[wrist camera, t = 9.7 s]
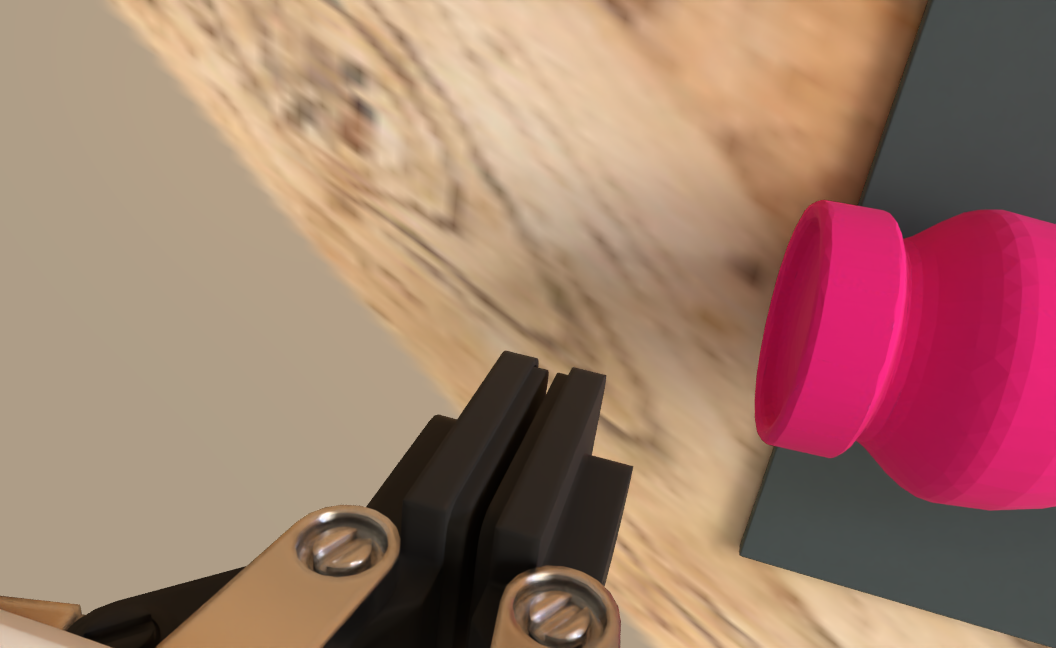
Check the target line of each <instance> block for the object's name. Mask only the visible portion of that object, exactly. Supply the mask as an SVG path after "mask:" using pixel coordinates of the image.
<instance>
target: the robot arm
mask: <svg viewBox="0 0 1056 648" xmlns="http://www.w3.org/2000/svg"><path fill="white" fill-rule="evenodd" d="M548 375H549V372H548V370H545V369H541V368H538V358H534V357H530V356H525V355H521V354H517V353H513V352H509V351H504V352H503V353H502V354H501V356H500V357H499V359H498V360H497V362H496V363H495V365H494V366H493V368H492V369H491V370H490V372H489V373H488V375H487V376H486V378H485V379H484V381H483V382H482V384H481V385H480V387H479V388H478V390H477V391H476V393H475V394H474V396H473V397H472V399H471V400H470V401H469V403H468V404H467V406H466V407H465V409H464V410H463V412H462V413H461V415H460V416H459V418H458V419H453V418H449V417H446V416H442V415H435V416H434V417H433V418H432V419H431V420H430V421H429V422H428V424H427V425H426V426H425V428H424V429H423V430H422V432H421V433H420V435H419V436H418V437H417V439H416V440H415V441H414V443H413V444H412V445H411V447H410V448H409V450H408V451H407V452H406V454H405V455H404V456H403V458H402V459H401V460H400V462H399V463H398V464H397V466H396V467H395V468H394V470H393V471H392V473H391V474H390V476H389V477H388V478H387V479H386V481H385V482H384V483H383V485H382V486H381V487H380V489H379V490H378V492H377V493H376V494H375V496H374V497H373V498H372V500H371V501H370V502H369V504H368V505H367V507H363V506H356V505H338V506H331V507H325V508H322V509H320V510H317V511H314V512H311V513H309V514H308V515H306V516H305V517H303V518H302V519H300V520H299V521H297V522H296V523H295V524H294V525H292V526H291V527H290V528H289V529H288V530H287V531H286V532H285V533H283V534H282V535H281V536H280V537H279V538H278V539H277V540H276V541H274V542H273V543H272V544H271V545H270V546H269V547H268V548H267V549H266V550H264V551H263V552H262V553H261V554H260V555H259V556H258V557H256V558H255V559H254V560H253V561H252V562H251V563H250V564H249V565H247V566H245V567H241V568H238V569H234V570H230V571H227V572H223V573H219V574H215V575H212V576H209V577H204V578H201V579H197V580H193V581H190V582H186V583H182V584H178V585H175V586H171V587H167V588H164V589H160V590H157V591H152V592H149V593H145V594H142V595H138V596H134V597H130V598H127V599H123V600H119V601H116V602H113V603H110V604H108V605H105V606H103V607H100V608H97V609H95V610H93V611H92V612H90V613H88V614H87V615H82V613H81V607H80V605H78V604H69V603H60V602H51V601H42V600H33V599H24V598H15V597H6V596H0V648H620V631H621V620H620V614H619V608H618V605H617V604H616V602H615V600H614V598H613V597H612V595H611V593H610V592H609V591H608V590H607V589H606V588H605V587H604V586H605V583H606V579H607V575H608V571H609V567H610V563H611V560H612V556H613V552H614V548H615V544H616V540H617V536H618V531H619V527H620V523H621V519H622V515H623V510H624V506H625V502H626V497H627V493H628V488H629V484H630V479H631V475H632V470H633V466H629V465H626V464H622V463H618V462H614V461H611V460H607V459H603V458H599V457H596V456H592V451H593V446H594V440H595V435H596V430H597V425H598V420H599V414H600V409H601V404H602V399H603V394H604V389H605V383H606V375H603V374H599V373H595V372H591V371H587V370H583V369H579V368H574V367H572V369H571V371H570V373H569V375H566V374H562V373H557V375H556V376H555V378H554V380H553V382H552V384H551V386H550V388H549V390H548V392H547V394H546V390H547V383H548Z"/></svg>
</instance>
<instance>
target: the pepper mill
mask: <svg viewBox="0 0 1056 648" xmlns="http://www.w3.org/2000/svg"><path fill="white" fill-rule="evenodd" d="M755 422H756V428H757V432H758V435H759V436H760V438H761V439H762V441H764V442H765V443H766V444H768V445H773V446H777V447H782V448H786V449H791V450H795V451H800V452H804V453H808V454H813V455H817V456H822V457H826V458H834V457H836V456H838V455H840V454H842V453H843V452H845V451H846V450H847V449H849V448H850V447H851V446H852V444H853V443H854V442H855V441H857V442H859V443H860V444H861V445H862V446H863V447H864V448H865V449H866V450H867V451H868V452H869V453H870V455H871V456H872V457H873V458H874V459H875V461H876V462H877V463H878V464H879V465H880V467H881V468H882V469H883V470H884V471H885V473H886V474H888V475H889V476H890V477H891V478H892V479H893V480H894V481H895V482H896V483H897V484H898V485H899V486H900V487H902V488H903V489H905V490H906V491H908V492H909V493H911V494H912V495H914V496H915V497H918V498H921V499H923V500H926V501H929V502H932V503H939V504H946V505H954V506H961V507H968V508H976V509H983V510H1016V509H1043V508H1049V507H1055V506H1056V224H1053V223H1049V222H1045V221H1042V220H1038V219H1035V218H1031V217H1027V216H1024V215H1020V214H1016V213H1013V212H1009V211H1006V210H975V211H970V212H964V213H962V214H959V215H957V216H954V217H952V218H949V219H947V220H945V221H942V222H940V223H938V224H936V225H934V226H932V227H930V228H928V229H926V230H924V231H922V232H920V233H918V234H916V235H914V236H911V237H908V238H905V239H903V237H902V233H901V231H900V228H899V226H898V223H897V222H896V220H895V219H894V218H893V216H892V215H891V214H890V213H888V212H886V211H884V210H879V209H873V208H868V207H862V206H856V205H851V204H845V203H839V202H834V201H828V200H820V201H817V202H815V203H813V204H811V205H810V206H809V207H808V208H807V209H806V210H805V211H804V213H803V215H802V217H801V218H800V220H799V222H798V224H797V226H796V227H795V229H794V232H793V234H792V237H791V239H790V241H789V244H788V246H787V249H786V252H785V255H784V258H783V261H782V264H781V267H780V270H779V273H778V277H777V280H776V284H775V288H774V291H773V296H772V300H771V304H770V308H769V312H768V316H767V320H766V324H765V329H764V334H763V340H762V345H761V351H760V356H759V363H758V370H757V377H756V390H755Z"/></svg>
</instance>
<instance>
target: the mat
mask: <svg viewBox="0 0 1056 648" xmlns="http://www.w3.org/2000/svg"><path fill="white" fill-rule="evenodd" d="M858 206H862V207H868V208H873V209H879V210H884V211H886V212H888V213H890V214H891V215H892V216H893V218H894V219H895V220H896V222H897V223H898V226H899V228H900V231H901V233H902V237H903V239H905V238H908V237H911V236H914V235H916V234H918V233H920V232H922V231H924V230H926V229H928V228H930V227H932V226H934V225H936V224H938V223H940V222H942V221H945V220H947V219H949V218H952V217H954V216H957V215H959V214H962V213H964V212H970V211H975V210H1006V211H1009V212H1013V213H1016V214H1020V215H1024V216H1027V217H1031V218H1035V219H1038V220H1042V221H1045V222H1049V223H1053V224H1056V0H928V3H927V6H926V9H925V12H924V15H923V17H922V20H921V23H920V26H919V29H918V32H917V35H916V38H915V41H914V43H913V46H912V49H911V52H910V55H909V58H908V61H907V64H906V67H905V70H904V72H903V75H902V78H901V81H900V84H899V87H898V90H897V93H896V96H895V98H894V101H893V104H892V107H891V110H890V113H889V116H888V119H887V122H886V125H885V127H884V130H883V133H882V136H881V139H880V142H879V145H878V148H877V151H876V153H875V156H874V159H873V162H872V165H871V168H870V171H869V174H868V177H867V180H866V182H865V185H864V188H863V191H862V194H861V197H860V200H859V203H858ZM739 555H740V556H742V557H746V558H749V559H753V560H756V561H759V562H763V563H766V564H770V565H773V566H776V567H780V568H783V569H787V570H790V571H793V572H797V573H800V574H804V575H807V576H810V577H814V578H817V579H821V580H824V581H827V582H831V583H834V584H838V585H841V586H844V587H848V588H851V589H855V590H858V591H861V592H865V593H868V594H872V595H875V596H879V597H882V598H885V599H889V600H892V601H896V602H899V603H902V604H906V605H909V606H913V607H916V608H919V609H923V610H926V611H930V612H933V613H936V614H940V615H943V616H947V617H950V618H953V619H957V620H960V621H964V622H967V623H970V624H974V625H977V626H981V627H984V628H987V629H991V630H994V631H998V632H1001V633H1004V634H1008V635H1011V636H1015V637H1018V638H1021V639H1025V640H1028V641H1032V642H1035V643H1038V644H1042V645H1045V646H1049V647H1052V648H1056V506H1055V507H1049V508H1043V509H1016V510H983V509H976V508H968V507H961V506H954V505H946V504H939V503H932V502H929V501H926V500H923V499H921V498H918V497H915V496H914V495H912V494H911V493H909V492H908V491H906V490H905V489H903V488H902V487H900V486H899V485H898V484H897V483H896V482H895V481H894V480H893V479H892V478H891V477H890V476H889V475H888V474H886V473H885V471H884V470H883V469H882V468H881V467H880V465H879V464H878V463H877V462H876V461H875V459H874V458H873V457H872V456H871V455H870V453H869V452H868V451H867V450H866V449H865V448H864V447H863V446H862V445H861V444H860V443H859V442H857V441H855V442H854V443H853V444H852V446H851V447H850V448H849V449H847V450H846V451H845V452H843V453H842V454H840V455H838V456H836V457H834V458H826V457H822V456H817V455H813V454H808V453H804V452H800V451H795V450H791V449H786V448H782V447H777V446H774V449H773V452H772V455H771V457H770V460H769V463H768V466H767V469H766V472H765V475H764V478H763V481H762V484H761V486H760V489H759V492H758V495H757V498H756V501H755V504H754V507H753V510H752V512H751V515H750V518H749V521H748V524H747V527H746V530H745V533H744V536H743V539H742V541H741V544H740V550H739Z"/></svg>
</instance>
